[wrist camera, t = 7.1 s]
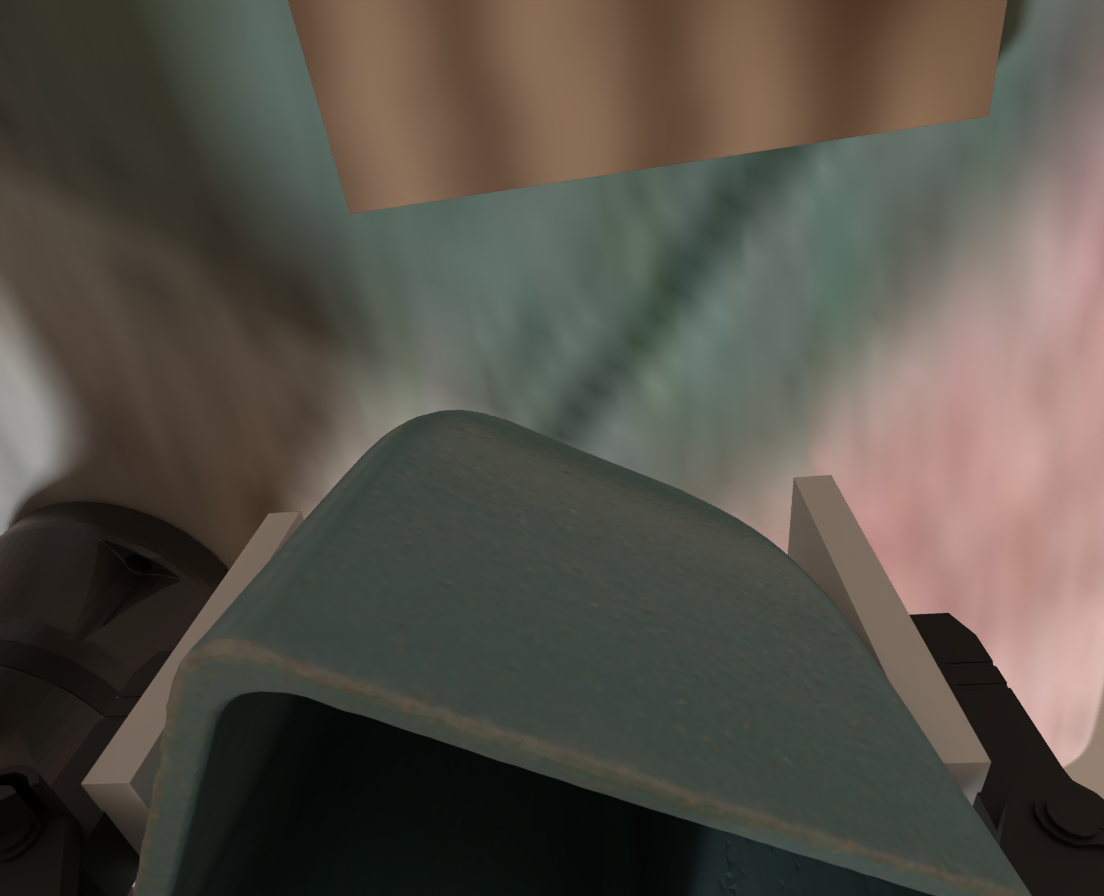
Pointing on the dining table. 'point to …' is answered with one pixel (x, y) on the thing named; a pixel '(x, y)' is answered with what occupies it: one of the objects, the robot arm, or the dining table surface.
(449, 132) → the walnut board
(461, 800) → the flower pot
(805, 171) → the dining table surface
